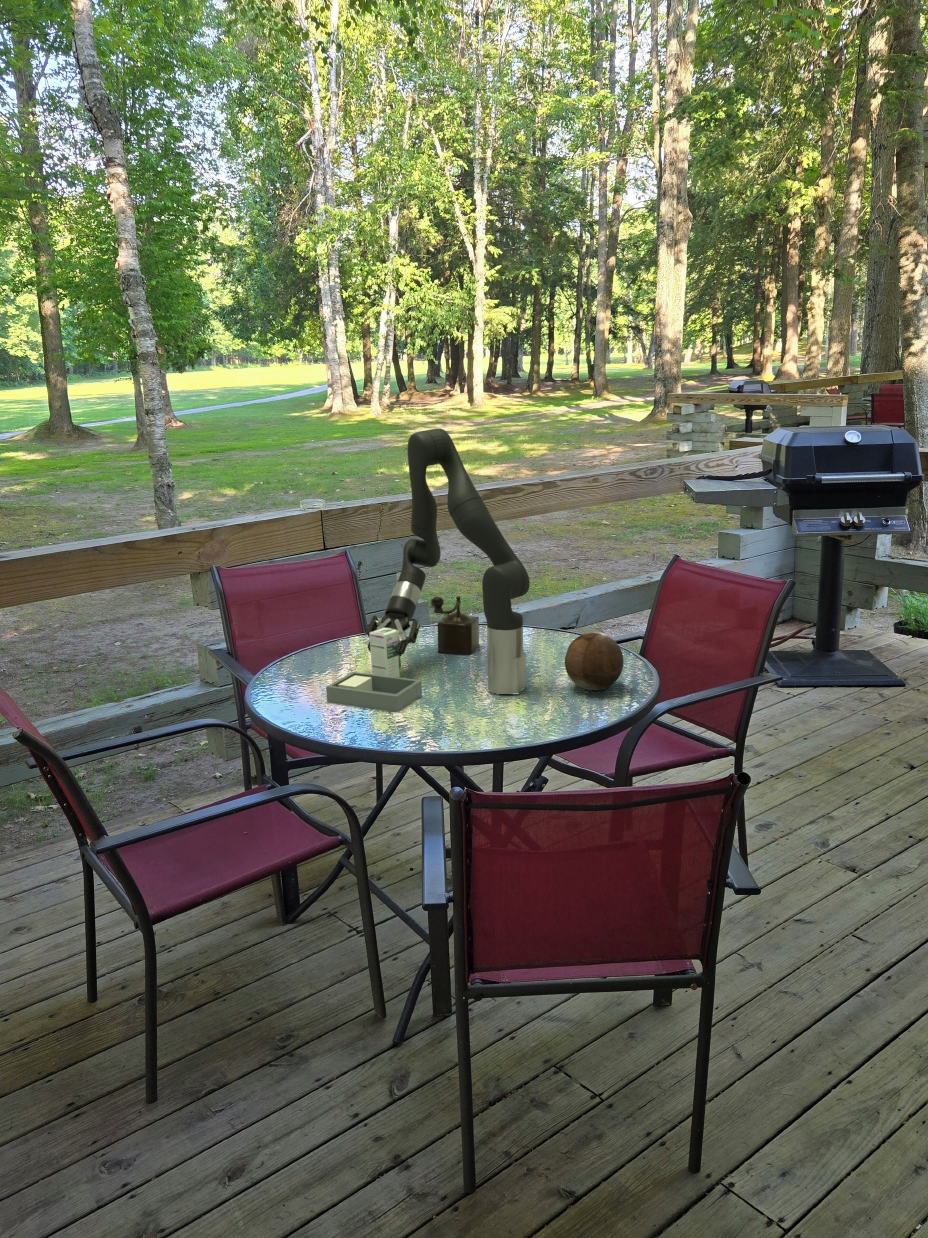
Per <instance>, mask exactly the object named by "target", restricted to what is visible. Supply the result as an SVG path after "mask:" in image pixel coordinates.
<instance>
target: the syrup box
mask: <svg viewBox="0 0 928 1238" xmlns="http://www.w3.org/2000/svg"><path fill="white" fill-rule="evenodd" d="M369 634H370V638H369V641H370V650H371V652H370V661H371V663H370V664H371V674H375V675H383V676H391V677H398V678H403V676H402V661H401V656H398V655H397V654H396V651H397V648H398V645H399V643H400V641H401V640H400V635H399V630H396V629H392V628H382V629H379V630H377V629H376V631H373V632H370V633H369Z"/></svg>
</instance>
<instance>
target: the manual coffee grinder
mask: <svg viewBox="0 0 928 1238" xmlns="http://www.w3.org/2000/svg"><path fill="white" fill-rule="evenodd" d="M455 598H456V601H455V604H454V607H453V608H452V609H450V610H444V609H443V605H444V603H445V600H444V599H443V597H440V596H434V597H433V598H431V599H430V604H431V607H432V608H433V613H434V614H441V615H445V616H443V617H442V618H441V620H439V621H438V622H437V649H438V650H437V653H439V654H445V655H447V654H448V655H459V656H471V655H473V654H474V653H475V651H476V650H477V649H478V648H479V646H480V634H479V633H480V623H479V622H480V618H479V616H472V615H467V614H465V613H462V612H461V604H462V603H461V602H462V601H461V596H460V595H457V596H456V597H455ZM477 647H478V648H477ZM476 648H477V649H476ZM475 649H476V650H475ZM470 654H471V655H470Z"/></svg>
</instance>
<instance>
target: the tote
mask: <svg viewBox="0 0 928 1238" xmlns="http://www.w3.org/2000/svg"><path fill="white" fill-rule="evenodd" d="M355 675H356V676H364V677H372V691H365V690H358V689H351V688H343V687H339V686H338V685H339V684H340V683H342V682H344V681H346V680H348V679H349V678H351V677H353V676H355ZM422 683H423V682H422V680H421V679H420V680H419V679H413V678H407V677H405V678H404V677H402V678H398V677H391V676H383V675H375V674H372V673H367V672H359V671H352V672H350V673H349V674H346V675H345V676H343V677H341V678H339V679H337V680H336V681H334V682H332V683H330V684H328V685H326V686H325V689H326V692H325V693H326V702H327V703H330V704H332V703H333V704H339V705H343V706H344V705H345V706H352V707H358V708H359V707H360V708H366V709H372V710H380V711H386V712H391V713H392V712H393V713H399V712H400V711H402V710H403V709H404V708H406V707H408V706H409V705H410V704H412V703H413V702H415V701H416V700H418V699H419V698H421V697H422V696H423V689H422Z"/></svg>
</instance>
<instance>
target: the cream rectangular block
mask: <svg viewBox="0 0 928 1238" xmlns="http://www.w3.org/2000/svg"><path fill="white" fill-rule="evenodd" d="M338 686H339V687H343V688H351V689H358V690H365V691H372V677H364V676H356V675H355V676H353V677H351V678H349V679H348V680H346V681H344V682H342V683H340V684H339V685H338Z"/></svg>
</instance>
